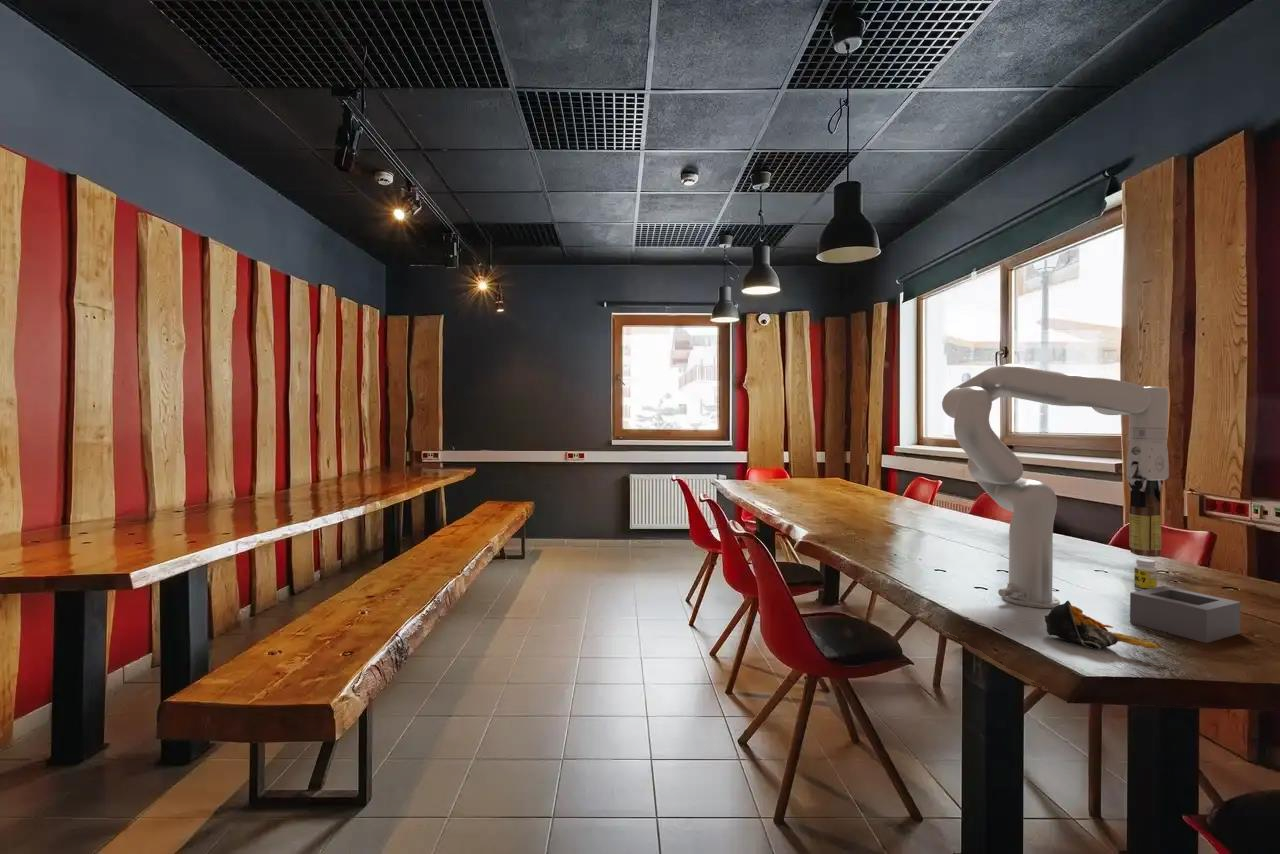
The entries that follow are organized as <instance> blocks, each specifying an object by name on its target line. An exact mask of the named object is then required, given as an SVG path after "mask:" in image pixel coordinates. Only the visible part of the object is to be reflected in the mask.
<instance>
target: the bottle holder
mask: <svg viewBox="0 0 1280 854" xmlns="http://www.w3.org/2000/svg"><path fill="white" fill-rule="evenodd" d="M1129 595H1130V596H1129V601H1130V602H1129V608H1130V609H1129V622H1130V623H1131V624H1134V625H1137V624H1138V626H1141V625H1142V627H1145V626H1146V627H1145V628H1148V627H1149V628H1148V629H1152V628H1153V630H1156V629H1157V630H1156V631H1160V630H1161V632H1163V631H1164V633H1167V632H1168V634H1171V635H1175V636H1180V637H1182V638H1187V639H1190V640H1194V641H1197V642H1201V643H1206V644H1208V643H1212V642H1215V641H1219V640H1222V639H1223V640H1224V639H1226V638H1229V637H1233V636H1236V635H1240V634H1241V601H1238V600H1233V599H1228V598H1223V597H1219V596H1218V597H1217V596H1214V595H1209V594H1204V593H1199V592H1194V591H1189V590H1185V589H1180V588H1175V587H1170V586H1166V585H1161V586H1157V587H1156V588H1151V589H1146V590H1141V591H1140V590H1135V591H1132V592H1130V594H1129Z"/></svg>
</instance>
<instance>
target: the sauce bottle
mask: <svg viewBox="0 0 1280 854" xmlns="http://www.w3.org/2000/svg"><path fill="white" fill-rule="evenodd" d="M1137 478H1140V477H1137ZM1140 479H1143V478H1140ZM1139 483H1140V485H1141V482H1139ZM1154 484H1155V480H1153V481H1150V480H1147V482H1146V487H1145V491H1144V492H1147V495H1146V507H1145V508H1142V507H1134V506H1131V505H1130V504H1129V510H1128V511H1129V513H1128V514H1129V515H1128V517H1129V519H1128V521H1129V523H1128V525H1129V526H1128V528H1129V529H1128V530H1129V533H1128V534H1129V538H1128V539H1129V543H1128V545H1129V546H1128V547H1129V548H1130V549H1129V551H1130V554H1131V553H1132V554H1133V555H1136V556H1141V557H1153V558H1159V557H1161V553H1162V551H1161V550H1162V514H1161V502H1160V503H1159V501H1158V500H1157V498H1156V497H1155V495H1154V494H1155V493H1154Z"/></svg>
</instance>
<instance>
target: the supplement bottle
mask: <svg viewBox="0 0 1280 854" xmlns="http://www.w3.org/2000/svg"><path fill="white" fill-rule="evenodd" d="M1135 561H1136V563H1135V564H1136V565H1134V574H1133V575H1134V576H1133V577H1134V581H1133V582H1134V587H1133V588H1134V589H1135V590H1136V591H1141V590H1146V589H1151V588H1156V587H1158V586H1157V584H1158V578H1157V577H1158V575H1157V574H1158V570H1157V568H1156V560H1153V559H1149V558H1141V557H1140V558H1136V560H1135Z"/></svg>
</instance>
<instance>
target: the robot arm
mask: <svg viewBox="0 0 1280 854" xmlns="http://www.w3.org/2000/svg"><path fill="white" fill-rule="evenodd" d="M1003 397H1007V398H1014V399H1020V400H1025V401H1026V400H1027V401H1030V402H1031V401H1032V402H1034V403H1041V404H1044V405H1045V404H1046V405H1051V406H1056V407H1057V406H1059V407H1088V408H1092V409H1093V410H1094V411H1095V412H1096V413H1098V414H1101V415H1105V416H1121V415H1122V416H1123V415H1124V416H1126V415H1127V416H1128V441H1129V443H1128V447H1127V448H1128V450H1127V458H1126V476H1125V477H1126V478H1125V479H1126V480H1127V482H1128V484H1129V490H1130V496H1129V497H1130V501H1129V506H1130V505H1131V506H1134V507H1142V508H1145V507H1146V495H1147V492H1144V491H1145V487H1146V482H1147V480H1150V481H1153V480H1155V484H1154V493H1155V494H1154V495H1155V497H1156V498H1157V500H1158V501H1159V503H1160V504H1161V501H1162V500H1161V497H1162V496H1161V495H1162V489H1163V487H1162V485H1163V484H1164V481H1165V480H1167V479H1169V477H1170V467H1169V466H1170V465H1169V463H1170V462H1169V459H1170V458H1169V449H1168V448H1169V447H1168V444H1167V442H1168V417H1169V416H1168V415H1169V414H1168V412H1169V391H1168V388H1165V387H1163V386H1142V385H1140V384H1137V383H1135V382H1134V383H1133V382H1130V381H1129V382H1128V381H1124V380H1118V379H1111V378H1104V377H1097V376H1086V375H1081V374H1075V373H1073V374H1072V373H1065V372H1059V371H1053V370H1047V369H1042V368H1038V367H1033V366H1028V365H1024V364H1023V365H1021V364H1016V363H1007V364H1002V365H997V366H992V367H990V368H987V369H985V370H984V371H982V372H980V373H978V374H976V375H974V377H971V378H970V379H968V380H966V381H964V382H963V383H961V384H959V385H957V386H956V387H953V388H952V389H950V390H949V391H947V392H946V394H945V395H944V396H943V399H942V402H941V405H942V406H941V407H942V410H943V412H944V413H945V414H946V415H947V416H949V417H950V418H952V419H954V420H953V421H954V423H953V430H954V431H953V433H954V436H955V440H956V441H957V443H958V444H959V446H960V449H962V450H963V451H964V452H965V454H966V455H967V456H968V459H967V468H968V472H969V474H970V475H971V477H972V478H973V479H974V481H976V483H977V484H978V485H979V486H980V487H981V489H983V491H985V492H986V494H987V495H988V496H989V497H990V498H991V499H992V500H993V501H994V502H995V503H996V504H997V505H998V506H1000V507H1001V508H1003V510H1006V511H1009V512H1012V517H1011V520H1010V522H1009V523H1010V524H1009V530H1008V531H1009V532H1008V583H1007V587H1005V588H1000V589H998V595H999V596H1000V597H1001V598H1002V599H1003V600H1005V601H1007V602H1009V603H1012V604H1014V603H1015V605H1017V606H1018V605H1020V606H1024V607H1029V608H1030V607H1031V608H1038V609H1053V608H1054V607H1056V606H1058V605H1061V604H1060V603H1061V602H1060V599H1059V598H1057V597H1055V596H1053V570H1054V569H1053V567H1054V566H1053V564H1054V563H1053V557H1054V556H1053V555H1054V554H1053V553H1054V547H1053V545H1054V541H1053V540H1054V539H1053V537H1054V536H1053V535H1054V534H1053V533H1054V522H1055V517H1056V513H1057V508H1058V507H1057V506H1058V498H1057V495H1056V493H1055V491H1054V490H1053V488H1052V487H1050V486H1049V485H1048V484H1046V483H1045V482H1043V481H1039V480H1035V479H1029V478H1023V477H1022V475H1023V473H1024V466H1023V463H1022V461H1021V460H1020V459H1019V457H1018V456H1017V455H1016V454H1015V453H1014V452H1013V451H1012V450H1011V449H1010V448H1009V447H1008V446H1007V445H1006V444H1005V442H1004V441H1002V440H1001V439H1000V438H999V436H998V435H997V434H996V433H995V431H994V430H993V428H992V427H991V425H990V413H991V410H992V406H993V402H994V401H996V400H997V399H999V398H1003ZM1137 477H1140V478H1143V479H1140V478H1137ZM1139 482H1141V485H1140V483H1139Z"/></svg>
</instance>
